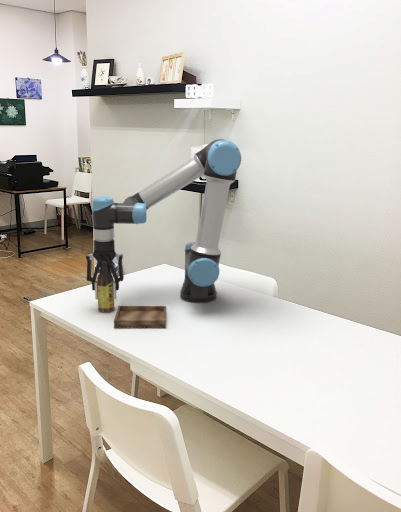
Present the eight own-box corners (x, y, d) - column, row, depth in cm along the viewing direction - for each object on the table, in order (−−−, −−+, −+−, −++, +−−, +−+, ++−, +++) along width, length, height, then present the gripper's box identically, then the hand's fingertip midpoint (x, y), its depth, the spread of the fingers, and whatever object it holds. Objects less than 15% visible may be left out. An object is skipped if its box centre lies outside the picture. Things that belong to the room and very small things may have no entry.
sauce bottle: (112, 313, 185) (111, 263, 179) (96, 313, 185) (94, 262, 179) (116, 307, 191) (114, 258, 185) (100, 306, 191) (98, 257, 186)
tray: (166, 313, 186) (166, 305, 185) (165, 328, 172) (165, 320, 172) (118, 313, 185) (118, 305, 184) (114, 328, 172) (113, 320, 171)
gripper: (131, 237, 184) (132, 294, 190) (79, 236, 183) (82, 294, 190) (129, 241, 177) (130, 301, 183) (75, 241, 176) (78, 301, 182)
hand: (106, 298), depth 186 cm, fingers closed on sauce bottle, 6 cm apart
